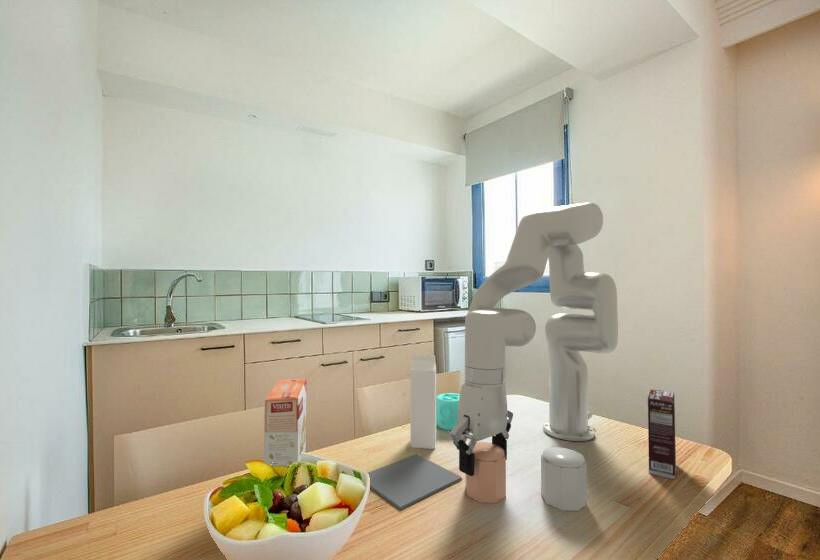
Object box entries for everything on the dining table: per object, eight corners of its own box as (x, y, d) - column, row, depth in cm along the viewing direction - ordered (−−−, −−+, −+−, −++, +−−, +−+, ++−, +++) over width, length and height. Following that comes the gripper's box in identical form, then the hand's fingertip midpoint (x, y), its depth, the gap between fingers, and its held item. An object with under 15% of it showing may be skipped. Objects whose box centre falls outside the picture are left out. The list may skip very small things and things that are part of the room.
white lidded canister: (555, 484, 76) (555, 444, 76) (592, 500, 71) (592, 456, 71) (535, 497, 72) (534, 454, 72) (573, 515, 66) (572, 469, 66)
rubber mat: (416, 455, 89) (416, 453, 89) (461, 479, 78) (461, 477, 78) (357, 479, 79) (357, 476, 79) (400, 509, 68) (400, 507, 68)
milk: (435, 449, 93) (435, 357, 92) (410, 448, 93) (410, 357, 93) (436, 439, 99) (436, 353, 99) (413, 437, 99) (413, 352, 99)
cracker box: (299, 522, 65) (299, 397, 65) (261, 525, 64) (261, 399, 64) (307, 479, 78) (307, 377, 79) (276, 482, 77) (276, 378, 78)
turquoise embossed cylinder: (466, 421, 111) (466, 393, 111) (463, 432, 103) (463, 402, 103) (439, 419, 113) (439, 392, 113) (434, 429, 105) (434, 400, 105)
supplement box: (650, 458, 87) (649, 388, 88) (676, 464, 85) (675, 392, 85) (647, 473, 80) (647, 397, 81) (675, 480, 78) (675, 402, 78)
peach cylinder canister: (482, 478, 79) (482, 438, 79) (512, 492, 73) (512, 450, 73) (458, 490, 74) (458, 449, 74) (488, 507, 69) (488, 462, 69)
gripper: (496, 366, 82) (495, 447, 82) (438, 378, 71) (437, 471, 71) (527, 372, 76) (526, 459, 76) (469, 386, 65) (468, 488, 65)
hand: (483, 465), depth 73 cm, fingers open, 9 cm apart
